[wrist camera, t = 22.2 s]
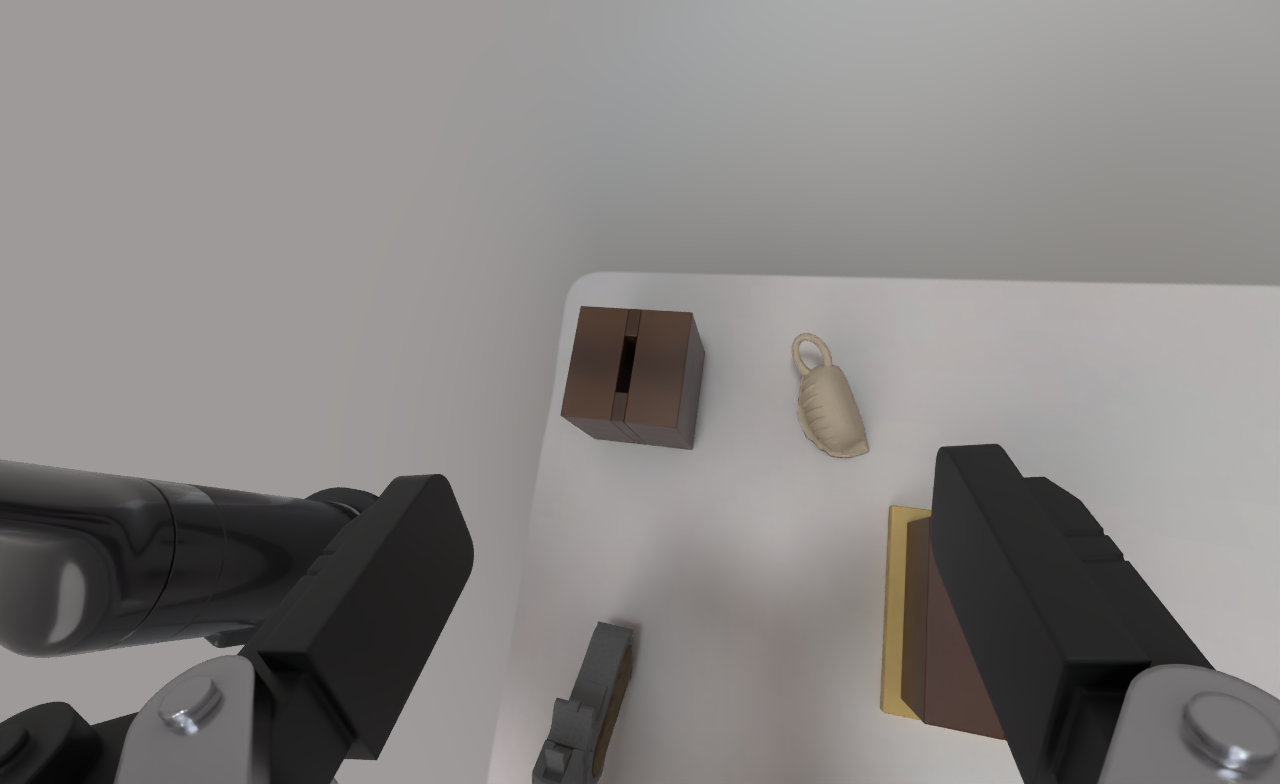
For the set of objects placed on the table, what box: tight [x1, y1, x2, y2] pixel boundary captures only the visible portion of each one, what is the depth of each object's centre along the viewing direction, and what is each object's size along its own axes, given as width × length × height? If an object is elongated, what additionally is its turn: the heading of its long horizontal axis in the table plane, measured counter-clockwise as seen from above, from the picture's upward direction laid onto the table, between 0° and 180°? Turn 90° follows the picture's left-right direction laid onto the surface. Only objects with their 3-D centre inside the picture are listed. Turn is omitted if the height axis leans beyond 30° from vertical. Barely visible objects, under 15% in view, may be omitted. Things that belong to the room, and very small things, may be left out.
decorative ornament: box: [792, 333, 869, 458], centre depth 41 cm, size 4×8×5 cm, turn 11°
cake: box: [880, 506, 1007, 741], centre depth 34 cm, size 13×11×9 cm
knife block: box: [561, 306, 705, 450], centre depth 43 cm, size 8×8×8 cm
